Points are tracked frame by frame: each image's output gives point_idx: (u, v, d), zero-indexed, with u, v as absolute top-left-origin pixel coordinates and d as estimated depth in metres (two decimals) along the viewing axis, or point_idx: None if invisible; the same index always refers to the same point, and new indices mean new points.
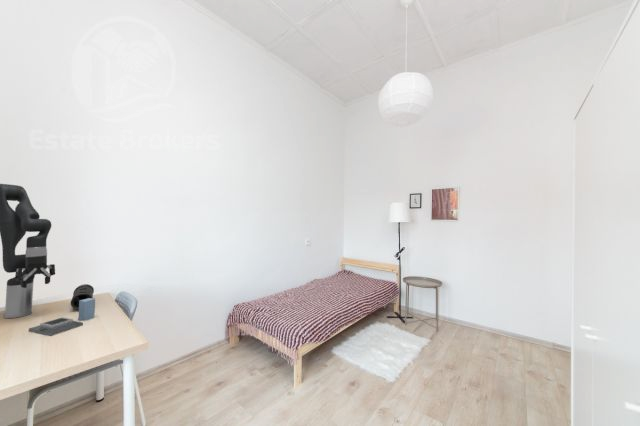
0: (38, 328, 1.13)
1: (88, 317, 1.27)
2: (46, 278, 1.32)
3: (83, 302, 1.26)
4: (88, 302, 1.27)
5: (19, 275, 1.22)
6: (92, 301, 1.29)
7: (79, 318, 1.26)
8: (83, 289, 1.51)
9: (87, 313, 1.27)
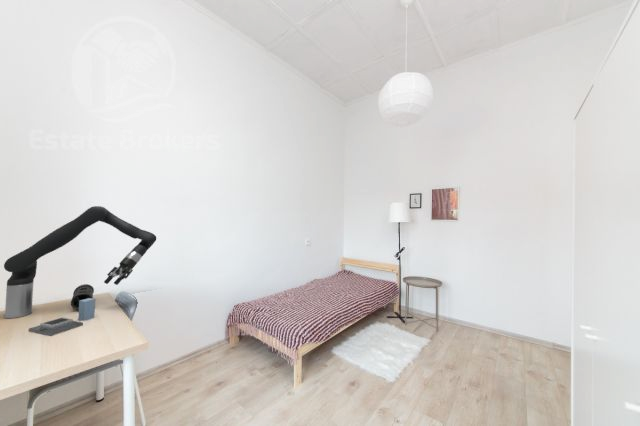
0: (38, 328, 1.13)
1: (88, 317, 1.27)
2: (110, 278, 1.42)
3: (83, 302, 1.26)
4: (88, 302, 1.27)
5: None
6: (92, 301, 1.29)
7: (79, 318, 1.26)
8: (83, 289, 1.51)
9: (87, 313, 1.27)
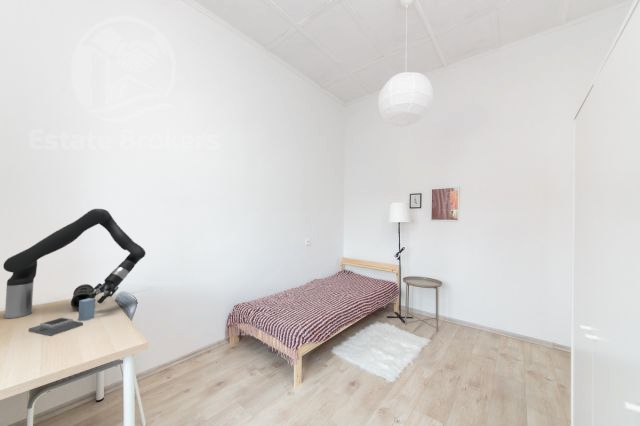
0: (38, 328, 1.13)
1: (88, 317, 1.27)
2: (93, 296, 1.35)
3: (83, 302, 1.26)
4: (88, 302, 1.27)
5: None
6: (92, 301, 1.29)
7: (79, 318, 1.26)
8: (83, 289, 1.51)
9: (87, 313, 1.27)
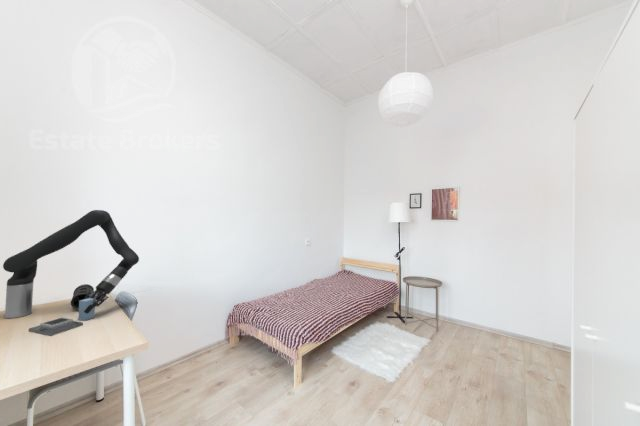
0: (38, 328, 1.13)
1: (88, 317, 1.27)
2: None
3: (83, 302, 1.26)
4: (88, 302, 1.27)
5: None
6: (92, 301, 1.29)
7: (80, 318, 1.26)
8: (83, 289, 1.51)
9: None
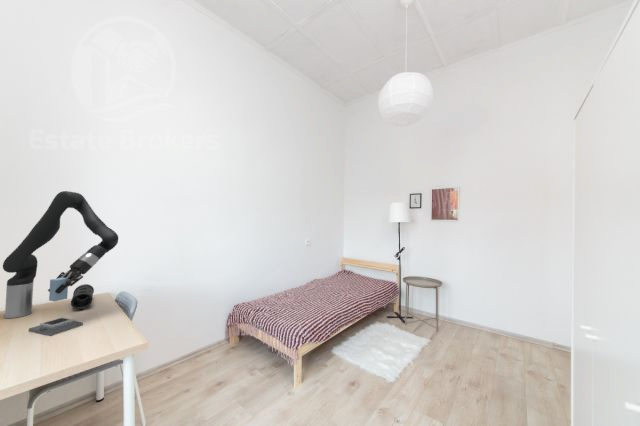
0: (38, 328, 1.13)
1: (60, 298, 1.16)
2: None
3: (54, 281, 1.15)
4: (60, 281, 1.16)
5: None
6: (65, 280, 1.18)
7: (50, 298, 1.15)
8: (83, 289, 1.51)
9: None
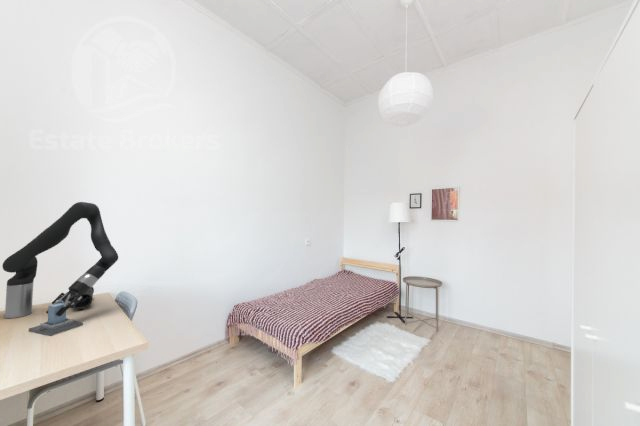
0: (38, 328, 1.13)
1: None
2: None
3: (52, 307, 1.15)
4: (58, 307, 1.16)
5: None
6: None
7: None
8: None
9: (57, 319, 1.15)
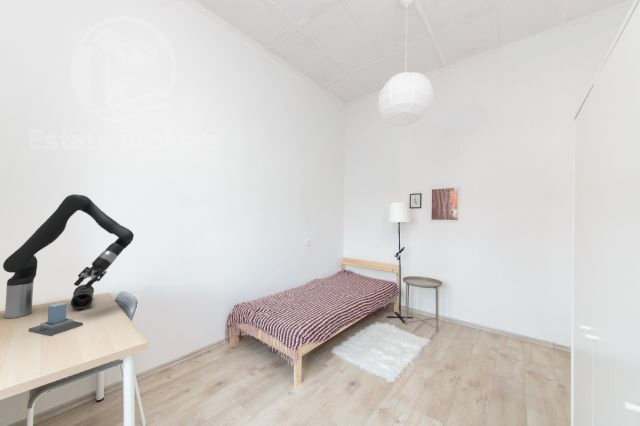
0: (38, 328, 1.13)
1: None
2: (81, 280, 1.30)
3: (52, 307, 1.15)
4: (58, 307, 1.16)
5: None
6: (63, 306, 1.17)
7: None
8: (83, 289, 1.51)
9: (57, 319, 1.15)
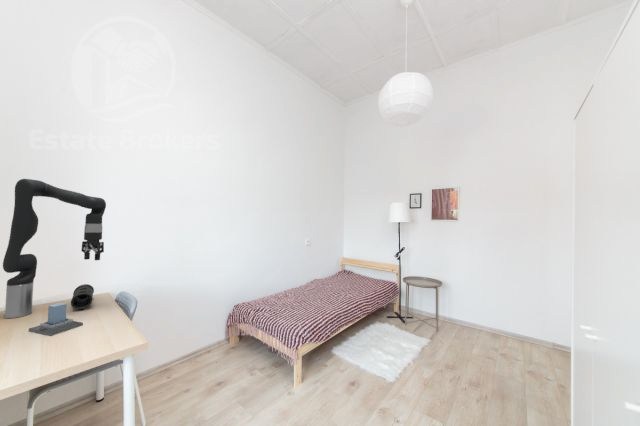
0: (38, 328, 1.13)
1: None
2: (88, 254, 1.39)
3: (52, 307, 1.15)
4: (58, 307, 1.16)
5: None
6: (63, 306, 1.17)
7: None
8: (83, 289, 1.51)
9: (57, 319, 1.15)
